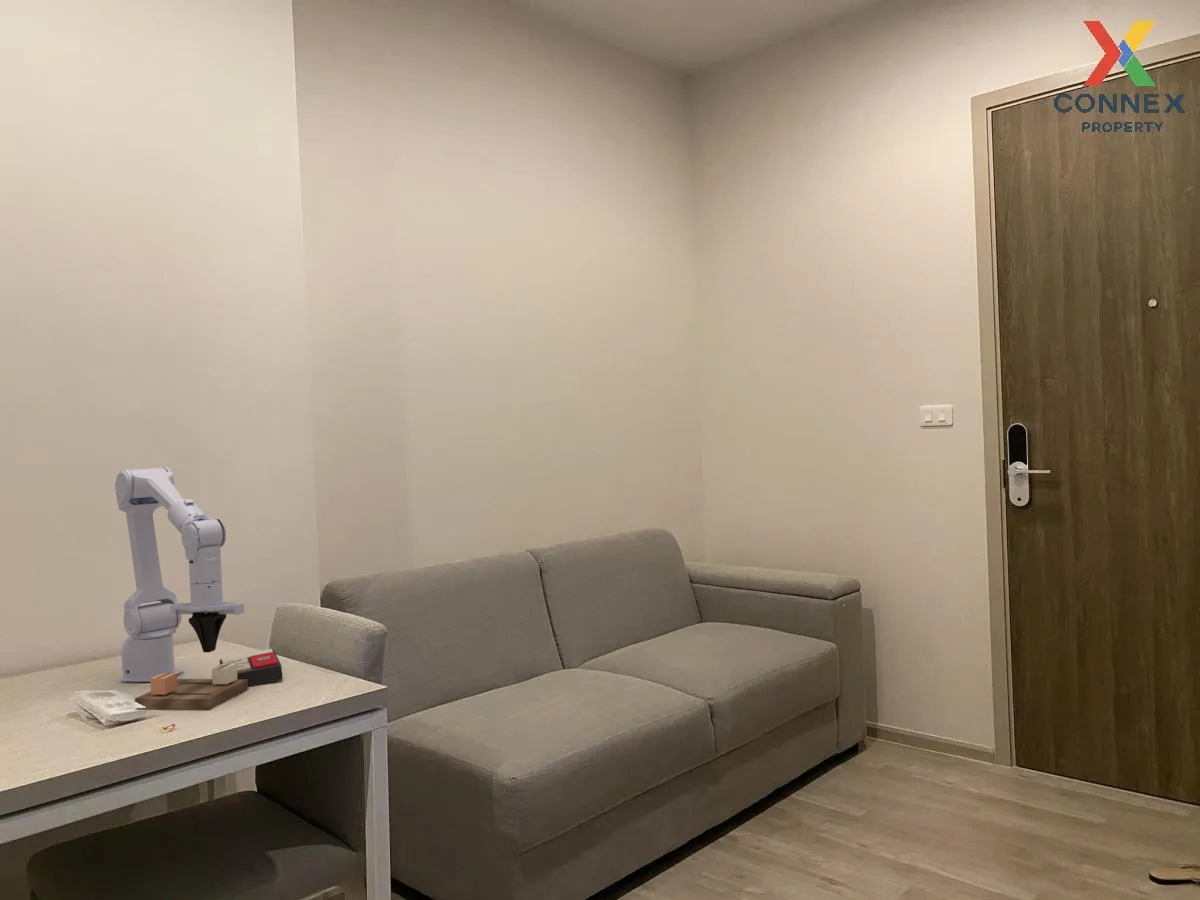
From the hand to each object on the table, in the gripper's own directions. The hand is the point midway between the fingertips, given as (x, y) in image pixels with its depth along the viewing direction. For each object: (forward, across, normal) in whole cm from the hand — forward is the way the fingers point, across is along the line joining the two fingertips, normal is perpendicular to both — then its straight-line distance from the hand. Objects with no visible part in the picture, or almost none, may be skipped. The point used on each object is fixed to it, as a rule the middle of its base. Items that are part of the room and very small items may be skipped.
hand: (209, 651), depth 176 cm
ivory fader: (+6, +3, 0) cm, 7 cm away
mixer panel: (+8, -2, -4) cm, 9 cm away
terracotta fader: (+6, -5, -7) cm, 10 cm away
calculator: (+9, +2, +12) cm, 15 cm away
